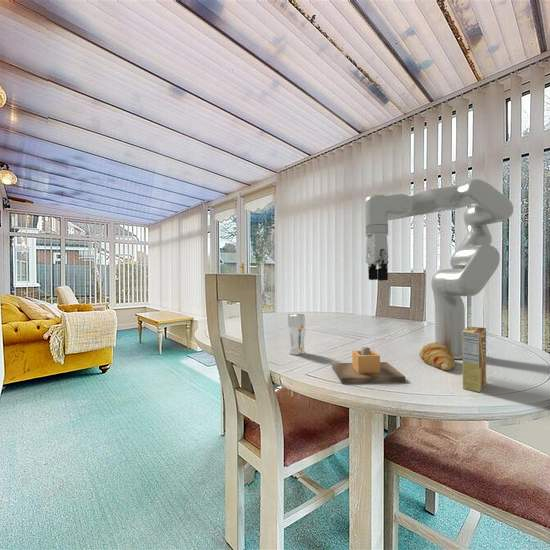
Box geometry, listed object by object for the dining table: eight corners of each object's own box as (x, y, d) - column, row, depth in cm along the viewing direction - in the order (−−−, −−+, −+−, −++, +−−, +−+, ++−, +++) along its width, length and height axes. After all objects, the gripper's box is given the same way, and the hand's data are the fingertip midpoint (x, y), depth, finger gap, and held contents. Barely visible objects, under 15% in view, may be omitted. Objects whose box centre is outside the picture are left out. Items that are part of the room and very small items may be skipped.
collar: (372, 365, 95) (372, 350, 95) (380, 372, 88) (379, 355, 88) (352, 366, 95) (352, 350, 95) (358, 373, 88) (358, 356, 88)
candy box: (469, 379, 85) (468, 326, 85) (487, 383, 82) (486, 327, 82) (462, 389, 79) (461, 330, 79) (481, 393, 76) (480, 332, 76)
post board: (386, 366, 98) (386, 342, 98) (405, 381, 84) (404, 353, 84) (332, 367, 98) (331, 343, 98) (341, 383, 84) (341, 355, 84)
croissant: (459, 384, 91) (472, 362, 90) (427, 368, 92) (440, 346, 92) (433, 362, 112) (444, 344, 111) (408, 349, 113) (418, 331, 112)
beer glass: (305, 350, 120) (305, 313, 120) (306, 355, 114) (305, 316, 113) (288, 350, 121) (287, 313, 121) (287, 355, 114) (286, 316, 114)
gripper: (359, 234, 114) (360, 279, 114) (374, 227, 97) (375, 280, 97) (378, 234, 114) (379, 279, 114) (397, 227, 97) (398, 280, 97)
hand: (377, 280), depth 105 cm, fingers open, 9 cm apart
